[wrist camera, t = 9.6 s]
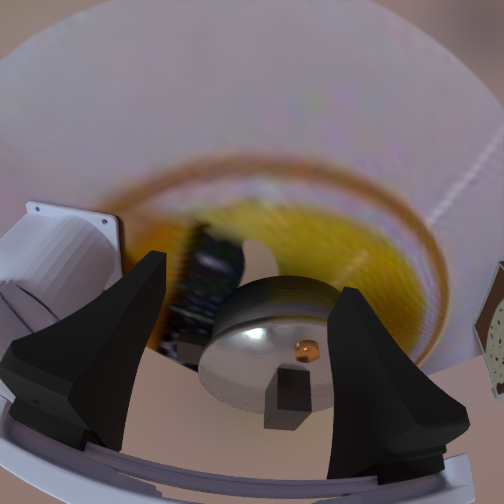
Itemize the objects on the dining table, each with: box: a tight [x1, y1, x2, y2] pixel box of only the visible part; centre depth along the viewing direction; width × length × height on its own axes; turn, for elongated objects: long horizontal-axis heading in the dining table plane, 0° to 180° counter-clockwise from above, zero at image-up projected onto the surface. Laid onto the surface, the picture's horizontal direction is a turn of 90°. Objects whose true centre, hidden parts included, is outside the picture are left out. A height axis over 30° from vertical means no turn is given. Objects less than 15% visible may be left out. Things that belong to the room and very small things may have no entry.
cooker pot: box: [177, 276, 341, 365], centre depth 26 cm, size 18×13×5 cm
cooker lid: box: [198, 315, 334, 431], centre depth 22 cm, size 14×14×4 cm
